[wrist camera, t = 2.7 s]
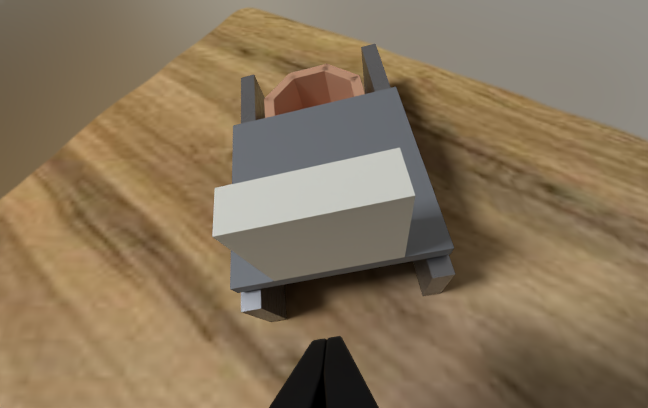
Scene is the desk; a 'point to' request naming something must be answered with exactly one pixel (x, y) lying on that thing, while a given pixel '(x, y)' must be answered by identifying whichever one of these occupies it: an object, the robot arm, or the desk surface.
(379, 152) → the sliding lid
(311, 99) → the terracotta cup
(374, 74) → the metal rails
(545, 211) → the desk surface
